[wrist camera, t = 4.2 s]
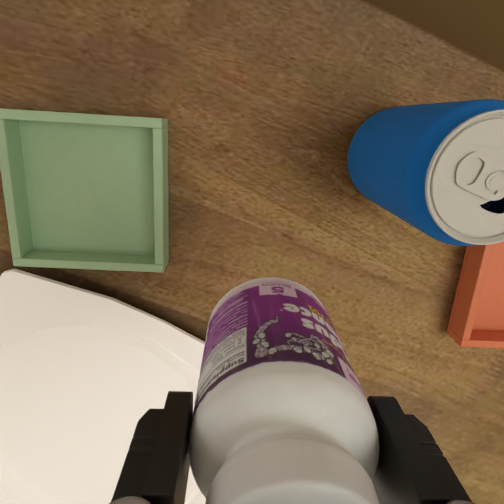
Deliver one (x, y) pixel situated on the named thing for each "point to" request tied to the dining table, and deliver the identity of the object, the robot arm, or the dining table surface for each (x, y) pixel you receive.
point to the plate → (80, 388)
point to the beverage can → (436, 168)
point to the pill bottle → (279, 404)
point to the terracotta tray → (480, 298)
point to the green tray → (85, 190)
